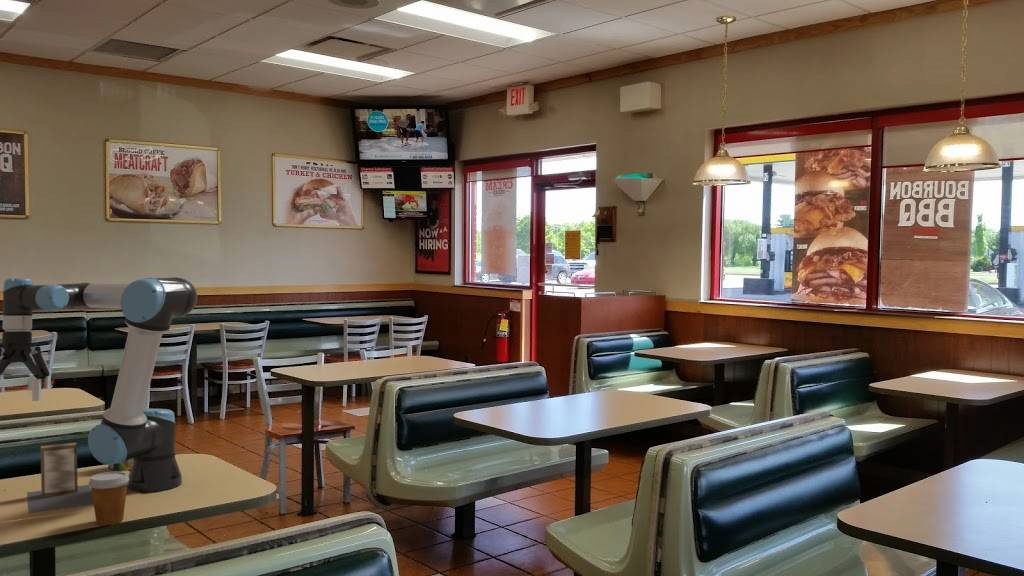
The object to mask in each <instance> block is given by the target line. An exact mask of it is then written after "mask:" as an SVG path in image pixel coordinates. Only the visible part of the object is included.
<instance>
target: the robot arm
mask: <svg viewBox="0 0 1024 576" xmlns="http://www.w3.org/2000/svg"><path fill="white" fill-rule="evenodd" d="M2 296H3V297H2V330H4V331H3V332H2V333H1V334H2V335H1V337H2V338H1V339H2V340H1V342H2V345H3V346H2V348H1V347H0V376H1V375H2V374H3V373H4V371H6V369H7V368H8V367H9V366H10V365H11V364H12V363H13V364H14V363H23V364H24V365H25V367H26V368H27V369H28V370H29V372H31V374H32V376H33V377H35V378H33V379H32V389H31V391H32V393H31V394H32V395H31V400H32V401H34V402H41V400H42V390H43V389H44V380H45V379H46V378H47V377H49V376H50V375H51V373H50V372H49V369H48V367H47V365H46V362H45V359H44V357H43V355H42V352H41V351H42V350H41V347H40V345H39V346H38V345H37V346H36V345H35V346H31V344H32V342H33V341H32V340H33V339H32V338H33V332H32V331H31V330H32V329H33V311H45V312H47V311H48V312H55V311H60V310H68V309H122V311H121V313H122V314H123V317H125V320H124V323H125V324H126V325H127V327H128V328H129V329H128V333H127V338H126V341H125V345H124V346H125V347H124V349H123V354H122V359H121V362H120V367H119V371H118V376H117V378H116V379H117V380H116V384H115V387H114V393H113V396H112V399H111V404H110V407H109V408H107V409H105V410H104V411H103V412H102V416H101V421H100V424H97V425H95V426H94V427H92V428H91V429H90V431H89V433H88V436H87V445H88V450H89V451H90V453H91V455H92V456H93V458H95V459H96V460H97V461H98V462H99V463H101V464H104V465H107V466H108V465H111V464H116V463H122V462H123V461H126V460H129V459H132V458H133V464H132V467H131V470H129V474H128V477H129V481H128V483H127V490H130V491H135V492H140V493H148V492H149V493H150V492H161V491H165V490H166V489H167V490H170V488H171V489H174V488H177V487H179V486H181V485H182V483H183V480H182V479H183V476H182V473H181V469H180V467H179V465H178V461H177V459H176V421H175V420H176V418H175V412H174V411H173V410H171V409H167V408H145V405H146V402H147V398H148V394H149V390H150V386H151V382H152V378H153V374H154V370H155V364H156V361H157V356H158V352H159V350H160V344H161V341H162V336H163V335H164V334H165V333H168V332H169V331H170V328H171V324H172V320H173V319H177V318H181V317H184V316H186V315H187V316H188V314H190V313H191V312H192V311H193V310H194V308H195V307H196V306H197V302H198V291H197V290H196V288H195V286H194V285H193V284H192V283H191V282H190V281H189V280H187V279H185V278H182V277H175V276H173V277H155V278H153V277H146V278H142V279H136V280H134V281H132V282H130V283H104V282H103V283H102V282H101V283H99V282H98V283H94V282H93V283H92V282H79V283H60V284H59V283H58V284H57V283H56V284H53V283H52V284H34V281H33V279H32V278H20V277H19V278H6V279H4V282H3V290H2ZM2 355H3V356H2ZM31 356H32V357H31ZM1 357H2V358H1ZM178 485H179V486H178ZM176 486H177V487H176Z"/></svg>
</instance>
